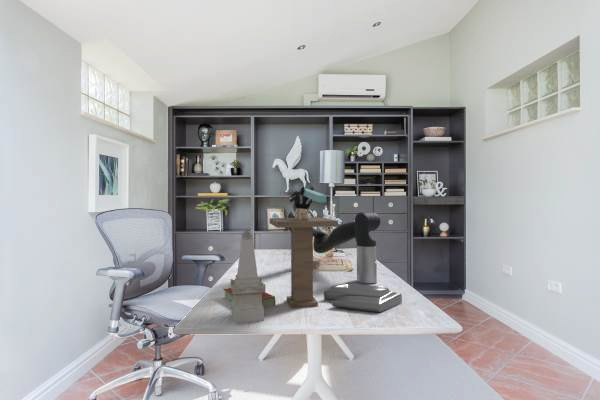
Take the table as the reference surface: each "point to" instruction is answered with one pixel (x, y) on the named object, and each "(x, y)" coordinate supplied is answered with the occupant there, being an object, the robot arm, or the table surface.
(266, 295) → the hardcover book
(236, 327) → the table surface
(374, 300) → the striped bevelled slab
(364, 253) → the robot arm
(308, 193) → the slat
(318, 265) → the mottled tan slab
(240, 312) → the miniature monument
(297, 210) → the shelf stand
